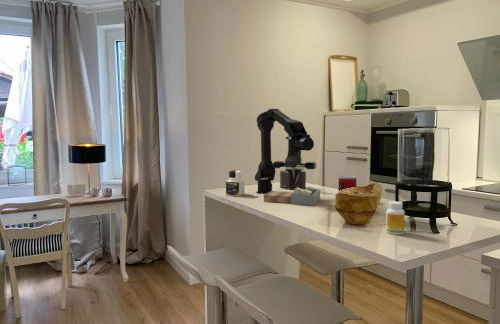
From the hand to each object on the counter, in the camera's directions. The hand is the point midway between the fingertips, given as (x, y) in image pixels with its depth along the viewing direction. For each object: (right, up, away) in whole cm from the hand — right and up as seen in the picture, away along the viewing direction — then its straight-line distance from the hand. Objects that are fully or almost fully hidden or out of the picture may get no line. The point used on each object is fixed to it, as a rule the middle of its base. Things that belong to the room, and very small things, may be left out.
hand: (294, 184), depth 176 cm
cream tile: (+4, -4, -1) cm, 6 cm away
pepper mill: (+4, -5, +35) cm, 36 cm away
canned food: (+24, -8, +2) cm, 25 cm away
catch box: (+5, -8, -1) cm, 9 cm away
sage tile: (+2, -5, 0) cm, 5 cm away
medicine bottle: (-27, -6, +18) cm, 33 cm away
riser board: (-6, -8, +3) cm, 10 cm away
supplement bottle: (+26, -13, -52) cm, 59 cm away
